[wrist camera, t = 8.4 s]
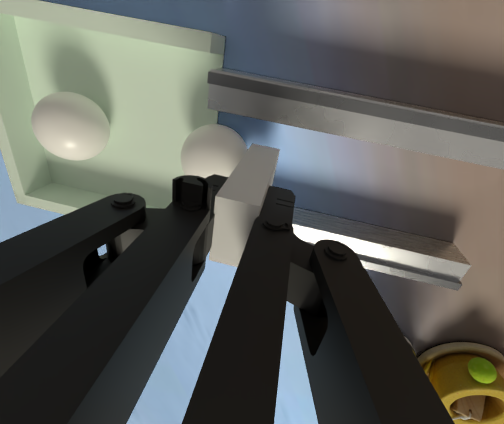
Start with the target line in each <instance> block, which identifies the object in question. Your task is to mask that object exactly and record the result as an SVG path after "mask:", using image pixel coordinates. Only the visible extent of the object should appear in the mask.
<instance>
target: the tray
mask: <svg viewBox="0 0 504 424" xmlns="http://www.w3.org/2000/svg"><path fill="white" fill-rule="evenodd" d="M225 38H226V37H225V36H222V35H219V34H215V33H212V32H207V31H201V30H196V29H191V28H185V27H180V26H174V25H169V24H164V23H158V22H153V21H147V20H142V19H136V18H131V17H126V16H120V15H115V14H109V13H104V12H99V11H93V10H88V9H82V8H77V7H71V6H66V5H61V4H55V3H50V2H44V1H39V0H0V149H1V153H2V156H3V159H4V162H5V165H6V169H7V172H8V175H9V178H10V181H11V184H12V188H13V191H14V194H15V197H16V200H17V203H20V204H24V205H28V206H32V207H36V208H40V209H44V210H48V211H53V212H57V213H61V214H65V215H66V214H68V213H70V212H73V211H75V210H77V209H79V208H82V207H84V206H86V205H89V204H91V203H93V202H96V201H98V200H100V199H103V198H105V197H107V196H110V195H114V194H119V193H133V194H136V195H139V196H141V197H143V198H144V199H145V201H146V208H166V207H167V206H168V205H169V204H170V203H171V202H172V179H174V178H176V177H178V176H183V175H185V174H184V171H183V169H182V165H181V150H182V147H183V144H184V142H185V140H186V139H187V137H188V136H189V135H190V134H191V133H192V132H193V131H194V130H196V129H197V128H199V127H201V126H204V125H209V124H217V123H218V112H219V111H217V110H212V109H207V106H208V93H209V83H207V80H208V71H210V69H216V68H223V59H224V48H225ZM55 92H73V93H77V94H80V95H83V96H85V97H87V98H89V99H90V100H92V101H93V102H95V103H96V104H97V105H98V106H99V107H100V108H101V109H102V111H103V112H104V113H105V115H106V117H107V119H108V122H109V126H110V138H109V141H108V144H107V145H106V147H105V148H104V150H103V151H102V152H101V153H99V154H98V155H96V156H95V157H92V158H90V159H86V160H78V161H77V160H68V159H64V158H61V157H58V156H56V155H54V154H52V153H51V152H49V151H48V150H47V149H45V148H44V147H43V146H42V145H41V144H40V142H39V141H38V140H37V138H36V136H35V134H34V132H33V129H32V124H31V116H32V112H33V109H34V107H35V106H36V104H37V103H38V102H39V101H40V100H41V99H42V98H44V97H45V96H47V95H49V94H52V93H55Z"/></svg>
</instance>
